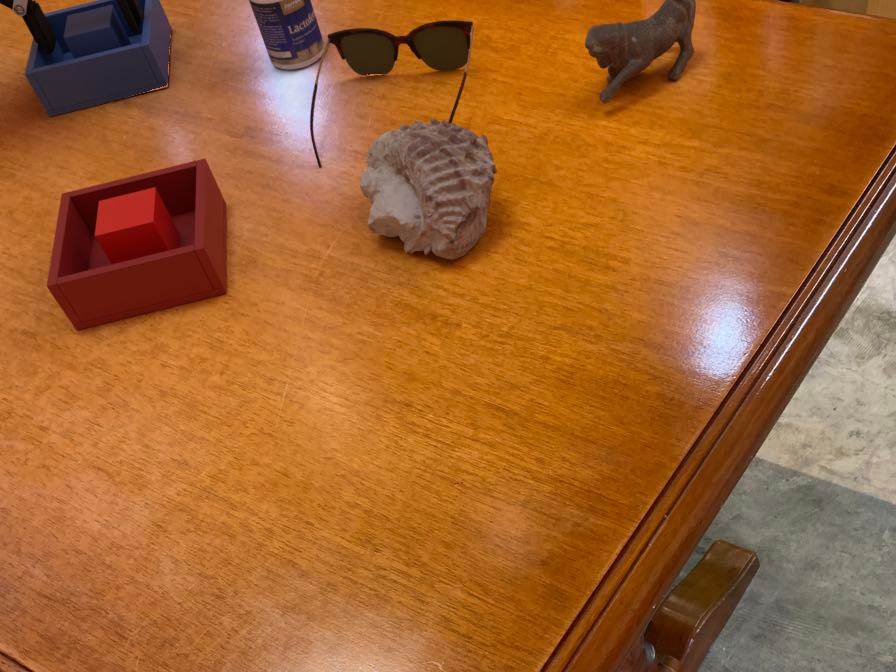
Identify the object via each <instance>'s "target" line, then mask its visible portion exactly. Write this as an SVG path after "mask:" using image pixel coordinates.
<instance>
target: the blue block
mask: <svg viewBox="0 0 896 672" xmlns="http://www.w3.org/2000/svg"><path fill="white" fill-rule="evenodd" d="M63 38H64V40H65V42H66V44H67V46H68V48H69V50H70V51H71V53H72V55H73V57H74V59H76V58H80V57H84V56H88V55H92V54H96V53H100V52H104V51H108V50H112V49H116V48H120V47H124V46H128V45H132V44H131V42H130V40H129V38H128V36H127V34H126V32H125V30H124V28H123V25H122V23H121V21H120V19H119V17H118V15H117V13H116V11H115V9H114V7H113V5H109V6H105V7H101V8H97V9H93V10H89V11H85V12H81V13H77V14H72V15H68V17H67V22H66V27H65V32H64V37H63Z"/></svg>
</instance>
